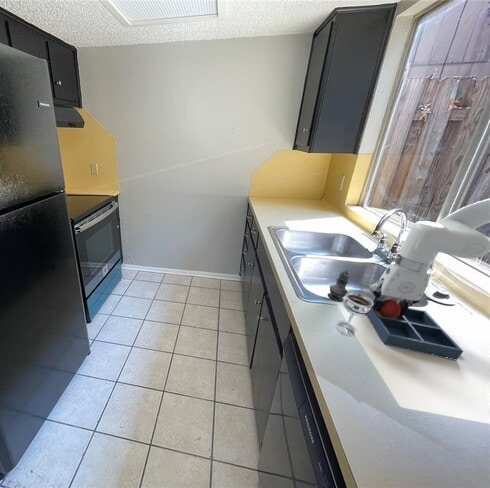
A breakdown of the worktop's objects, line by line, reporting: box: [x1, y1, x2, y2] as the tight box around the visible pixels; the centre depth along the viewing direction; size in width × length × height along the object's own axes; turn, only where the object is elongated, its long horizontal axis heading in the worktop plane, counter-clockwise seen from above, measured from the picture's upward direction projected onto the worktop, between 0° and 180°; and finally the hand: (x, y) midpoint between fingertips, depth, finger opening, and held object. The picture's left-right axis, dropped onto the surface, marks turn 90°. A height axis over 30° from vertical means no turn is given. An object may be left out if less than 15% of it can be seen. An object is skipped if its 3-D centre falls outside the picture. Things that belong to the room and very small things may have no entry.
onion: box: [378, 297, 401, 318], centre depth 83 cm, size 6×6×8 cm
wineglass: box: [335, 291, 374, 337], centre depth 77 cm, size 7×7×12 cm
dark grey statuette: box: [327, 269, 351, 303], centre depth 92 cm, size 6×6×12 cm
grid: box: [365, 306, 464, 361], centre depth 80 cm, size 17×17×4 cm
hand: (387, 310), depth 84 cm, fingers closed on onion, 5 cm apart
